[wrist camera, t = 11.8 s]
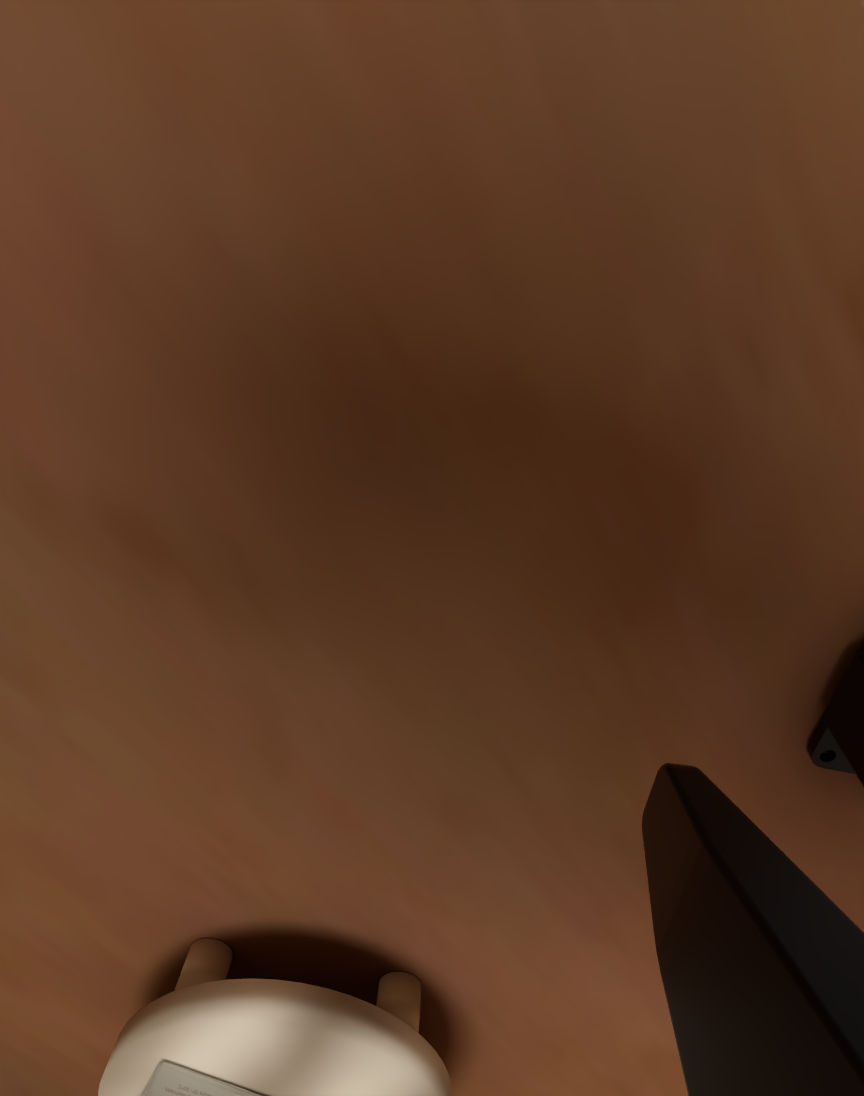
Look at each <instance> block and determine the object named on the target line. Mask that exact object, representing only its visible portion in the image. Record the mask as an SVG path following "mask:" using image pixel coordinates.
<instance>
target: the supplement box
mask: <svg viewBox="0 0 864 1096" xmlns="http://www.w3.org/2000/svg"><path fill="white" fill-rule="evenodd" d="M140 1096H261V1095H258V1094H255V1093H253V1092H250V1091H248V1090H245V1089H242V1088H240V1087H237V1086H234V1085H231V1084H228V1083H225V1082H222V1081H220V1080H217V1079H214V1078H211V1077H208V1076H205V1075H202V1074H199V1073H197V1072H194V1071H192V1070H189V1069H187V1068H184V1067H180V1066H177V1065H174V1064H171V1063H167V1062H163V1063H161V1064H159V1065H158V1066H157V1067H156V1069H155V1071H154V1073H153V1074H152V1076H151V1078H150V1080H149V1082H148V1083H147V1085H146V1087H145V1088H144V1090H143V1091H142V1093H141V1095H140Z"/></svg>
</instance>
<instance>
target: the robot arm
mask: <svg viewBox="0 0 864 1096" xmlns="http://www.w3.org/2000/svg"><path fill="white" fill-rule="evenodd" d="M826 750H829V751H828V752H826V753H822V752H824V751H826ZM807 751H808V754H809V756H810V758H811V760H812V762H813V763H814V764H815V765H816V766H819V767H821V768H826V769H832V770H837V771H842V772H848V773H853V774H856V775H857V777H858V778H859V780H860V781H861V783H862V785H863V786H864V645H863V646H862V648H861V650H860V652H859V654H858V655H857V656H856V657H855V658H854V660H853V662H852V664H851V666H850V667H849V669H848V671H847V673H846V675H845V676H844V678H843V680H842V682H841V684H840V685H839V687H838V689H837V691H836V693H835V695H834V696H833V698H832V700H831V702H830V704H829V705H828V707H827V709H826V711H825V713H824V715H823V719H822V721H821V723H820V724H819V726H818V728H817V730H816V732H815V733H814V735H813V737H812V739H811V741H810V743H809V744H808V747H807ZM642 833H643V841H644V850H645V859H646V868H647V876H648V885H649V894H650V902H651V911H652V920H653V929H654V936H655V944H656V951H657V957H658V962H659V967H660V972H661V976H662V981H663V985H664V990H665V994H666V998H667V1003H668V1007H669V1012H670V1016H671V1021H672V1025H673V1029H674V1034H675V1038H676V1043H677V1047H678V1051H679V1056H680V1060H681V1065H682V1069H683V1074H684V1078H685V1082H686V1087H687V1091H688V1096H864V932H863V931H862V930H861V929H859V928H858V927H857V926H856V925H855V924H854V923H853V922H852V921H851V920H850V919H849V918H848V917H847V916H846V915H845V914H844V913H843V912H842V911H841V910H840V909H839V908H838V907H837V906H836V905H835V904H834V903H833V902H832V901H831V900H830V899H829V898H828V897H827V896H826V895H825V894H824V893H823V892H822V891H821V890H820V889H819V888H818V887H817V886H816V885H815V884H814V883H813V882H812V881H811V880H810V879H809V878H808V877H807V876H806V875H805V874H804V873H803V872H802V871H801V870H800V869H799V868H798V867H797V866H796V865H795V864H794V863H793V862H792V861H791V860H790V859H789V858H788V857H787V856H786V855H785V854H784V853H783V852H782V851H781V850H780V849H779V848H778V847H777V846H776V845H775V844H774V843H773V842H772V841H771V840H770V839H769V838H768V837H767V836H766V835H765V834H764V833H763V832H762V831H761V830H760V829H759V828H758V827H757V826H756V825H755V824H754V823H753V822H752V821H751V820H750V819H749V818H748V817H747V816H746V815H745V814H744V813H743V812H742V811H741V810H740V809H739V808H738V807H737V806H736V805H735V804H734V803H733V802H732V801H731V800H730V799H729V798H728V797H727V796H726V795H725V794H724V793H723V792H722V791H721V790H720V789H719V788H718V787H717V786H716V785H715V784H714V783H713V782H712V781H711V780H710V779H709V778H708V777H707V776H706V775H705V774H704V773H703V772H702V771H701V770H699V769H698V768H696V767H694V766H688V765H680V764H672V763H666V764H664V765H662V766H661V767H660V769H659V770H658V772H657V775H656V778H655V781H654V784H653V786H652V789H651V792H650V795H649V797H648V800H647V803H646V806H645V809H644V812H643V818H642Z"/></svg>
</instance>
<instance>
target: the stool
mask: <svg viewBox="0 0 864 1096" xmlns="http://www.w3.org/2000/svg"><path fill="white" fill-rule="evenodd" d="M232 958H233V953H232V950H231V949H230V948H229V947H228V946H227V945H226V944H225V943H223V942H221V941H219V940H215V939H209V938H205V939H199V940H197V941H195V942H193V943H192V945H191V947H190V949H189V952H188V955H187V957H186V960H185V963H184V966H183V968H182V971H181V974H180V977H179V979H178V982H177V985H176V988H175V990H174V992H171V993H168V994H166V995H164V996H162V997H160V998H158V999H156V1000H154V1001H152V1002H150V1003H149V1004H148V1005H146V1006H145V1007H143V1008H142V1009H140V1010H139V1011H138V1012H137V1013H136V1014H135V1015H134V1016H133V1017H132V1018H131V1019H130V1020H129V1021H128V1022H127V1023H126V1025H125V1026H124V1028H123V1030H122V1031H121V1033H120V1035H119V1037H118V1040H117V1042H116V1044H115V1047H114V1049H113V1052H112V1054H111V1057H110V1059H109V1062H108V1064H107V1067H106V1069H105V1071H104V1074H103V1077H102V1079H101V1082H100V1085H99V1093H98V1096H140V1095H141V1093H142V1091H143V1090H144V1088H145V1087H146V1085H147V1083H148V1082H149V1080H150V1078H151V1076H152V1074H153V1073H154V1071H155V1069H156V1067H157V1066H158V1065H159V1064H161V1063H163V1062H167V1063H171V1064H174V1065H177V1066H180V1067H184V1068H187V1069H189V1070H192V1071H194V1072H197V1073H199V1074H202V1075H205V1076H208V1077H211V1078H214V1079H217V1080H220V1081H222V1082H225V1083H228V1084H231V1085H234V1086H237V1087H240V1088H242V1089H245V1090H248V1091H250V1092H253V1093H255V1094H258V1095H261V1096H452V1085H451V1081H450V1076H449V1074H448V1072H447V1069H446V1067H445V1065H444V1063H443V1061H442V1060H441V1058H440V1057H439V1055H438V1054H437V1052H436V1051H435V1050H434V1048H433V1047H432V1046H431V1045H430V1044H429V1043H428V1042H427V1041H426V1040H425V1039H424V1038H423V1037H422V1036H421V1035H420V1034H418V1033H419V1019H420V1004H421V989H422V985H421V982H420V981H419V979H418V978H417V977H415V976H414V975H412V974H409V973H405V972H391V973H388V974H386V975H384V976H383V977H382V978H381V979H380V981H379V987H378V996H377V1004H376V1006H375V1005H373V1004H371V1003H368V1002H366V1001H363V1000H361V999H358V998H356V997H353V996H351V995H348V994H344V993H341V992H338V991H334V990H331V989H328V988H324V987H319V986H314V985H310V984H305V983H299V982H292V981H284V980H275V979H254V978H252V979H228V980H226V978H227V974H228V971H229V968H230V964H231V961H232Z"/></svg>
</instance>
